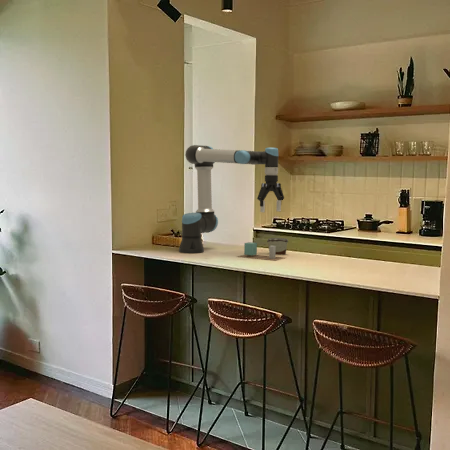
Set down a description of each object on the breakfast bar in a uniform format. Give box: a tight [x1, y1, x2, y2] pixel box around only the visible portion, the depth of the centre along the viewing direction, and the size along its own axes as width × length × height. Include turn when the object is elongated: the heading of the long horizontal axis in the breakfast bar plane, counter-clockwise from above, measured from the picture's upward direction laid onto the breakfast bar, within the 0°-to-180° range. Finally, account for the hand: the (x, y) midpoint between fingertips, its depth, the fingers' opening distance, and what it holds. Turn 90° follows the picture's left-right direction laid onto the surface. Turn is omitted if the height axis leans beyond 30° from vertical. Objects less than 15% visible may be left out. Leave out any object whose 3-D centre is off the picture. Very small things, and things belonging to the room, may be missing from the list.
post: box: [268, 245, 276, 259], centre depth 313 cm, size 3×3×7 cm
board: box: [236, 254, 286, 262], centre depth 317 cm, size 25×14×1 cm, turn 57°
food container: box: [267, 237, 289, 256], centre depth 331 cm, size 12×6×10 cm, turn 84°
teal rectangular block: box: [243, 241, 258, 255], centre depth 320 cm, size 5×5×7 cm
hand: (270, 211), depth 323 cm, fingers open, 13 cm apart
